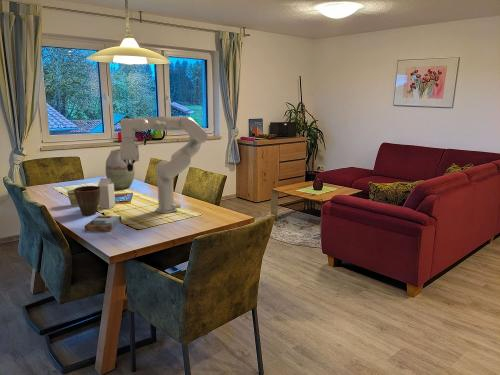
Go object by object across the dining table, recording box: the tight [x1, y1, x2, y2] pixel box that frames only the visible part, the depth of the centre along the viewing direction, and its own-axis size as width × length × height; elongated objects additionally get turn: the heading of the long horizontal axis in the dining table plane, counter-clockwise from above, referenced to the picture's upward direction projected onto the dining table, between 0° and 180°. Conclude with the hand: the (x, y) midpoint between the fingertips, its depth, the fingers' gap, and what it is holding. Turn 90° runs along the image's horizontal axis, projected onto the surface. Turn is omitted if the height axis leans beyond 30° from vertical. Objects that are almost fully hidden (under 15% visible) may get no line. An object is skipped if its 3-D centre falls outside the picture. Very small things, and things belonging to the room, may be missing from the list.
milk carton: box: [97, 177, 116, 209], centre depth 254 cm, size 7×7×19 cm
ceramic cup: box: [66, 189, 79, 208], centre depth 259 cm, size 13×10×10 cm
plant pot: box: [73, 185, 100, 217], centre depth 239 cm, size 15×15×16 cm
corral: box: [83, 215, 123, 233], centre depth 219 cm, size 14×18×3 cm
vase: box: [105, 148, 135, 191], centre depth 306 cm, size 21×21×30 cm
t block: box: [92, 215, 121, 231], centre depth 218 cm, size 12×12×4 cm
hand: (130, 170), depth 234 cm, fingers closed
